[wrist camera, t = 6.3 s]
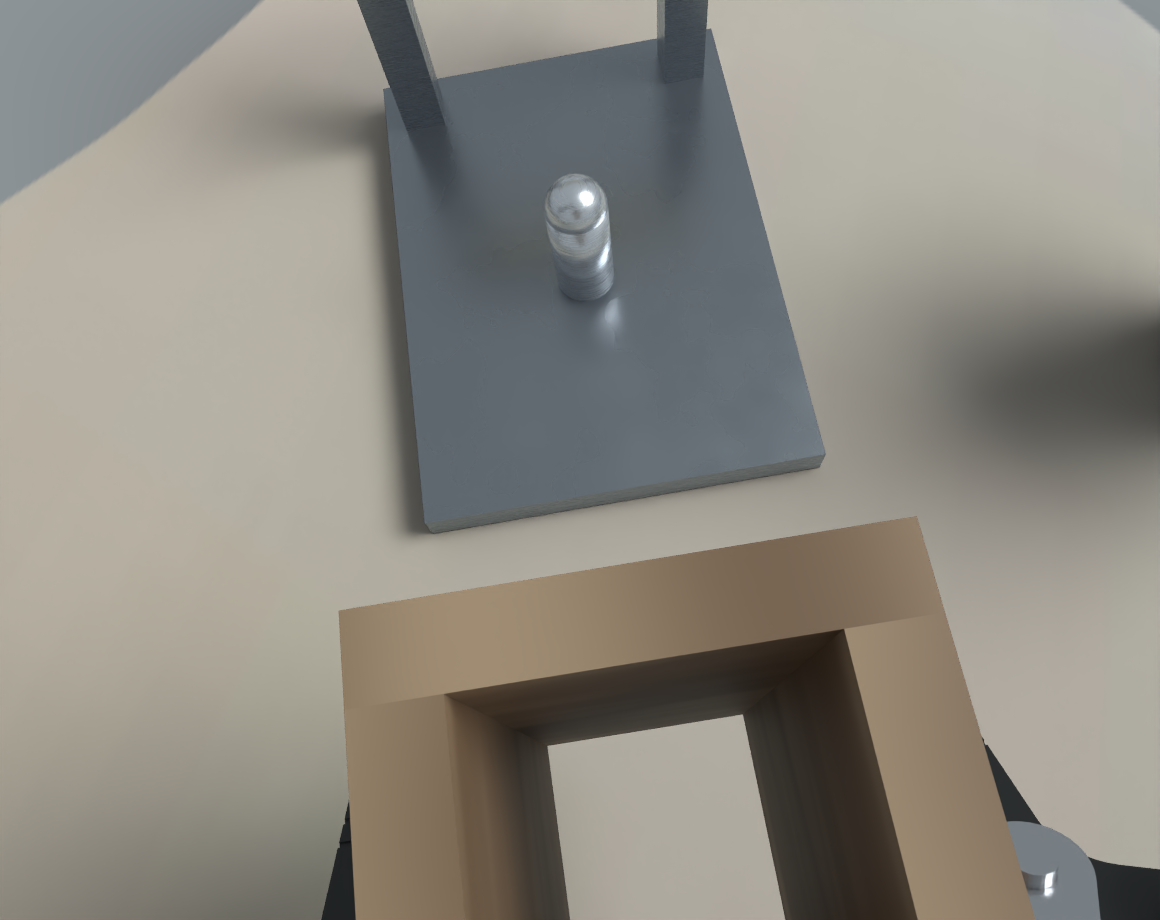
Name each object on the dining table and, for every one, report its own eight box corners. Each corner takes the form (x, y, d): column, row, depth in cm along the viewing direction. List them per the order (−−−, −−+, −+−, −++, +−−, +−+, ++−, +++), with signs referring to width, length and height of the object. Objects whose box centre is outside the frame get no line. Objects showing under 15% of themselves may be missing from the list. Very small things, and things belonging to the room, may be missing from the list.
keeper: (819, 467, 30) (906, 284, 19) (433, 533, 30) (309, 390, 20) (709, 52, 36) (729, -256, 26) (391, 110, 37) (281, -171, 26)
